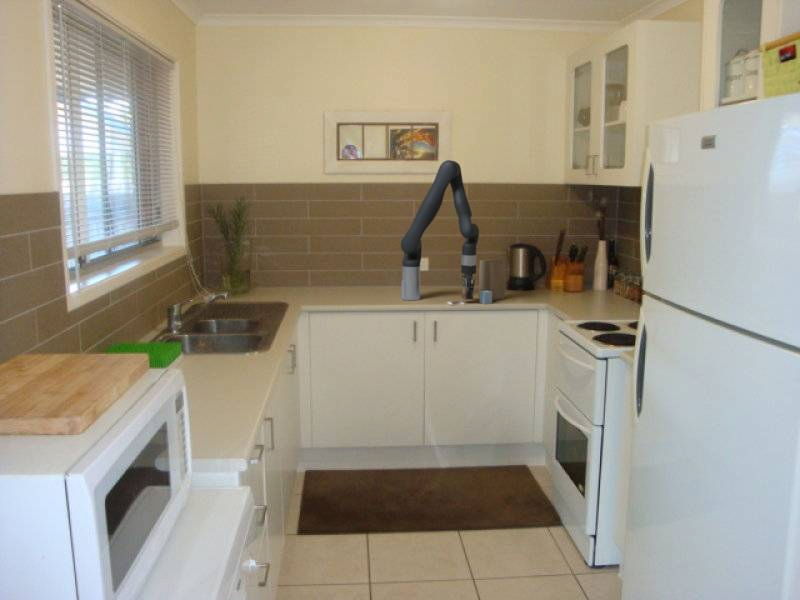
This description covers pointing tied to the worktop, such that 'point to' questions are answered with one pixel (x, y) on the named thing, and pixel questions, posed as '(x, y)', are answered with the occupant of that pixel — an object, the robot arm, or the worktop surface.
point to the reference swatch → (455, 303)
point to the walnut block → (465, 292)
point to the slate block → (485, 297)
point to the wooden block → (492, 277)
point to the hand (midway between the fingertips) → (467, 297)
